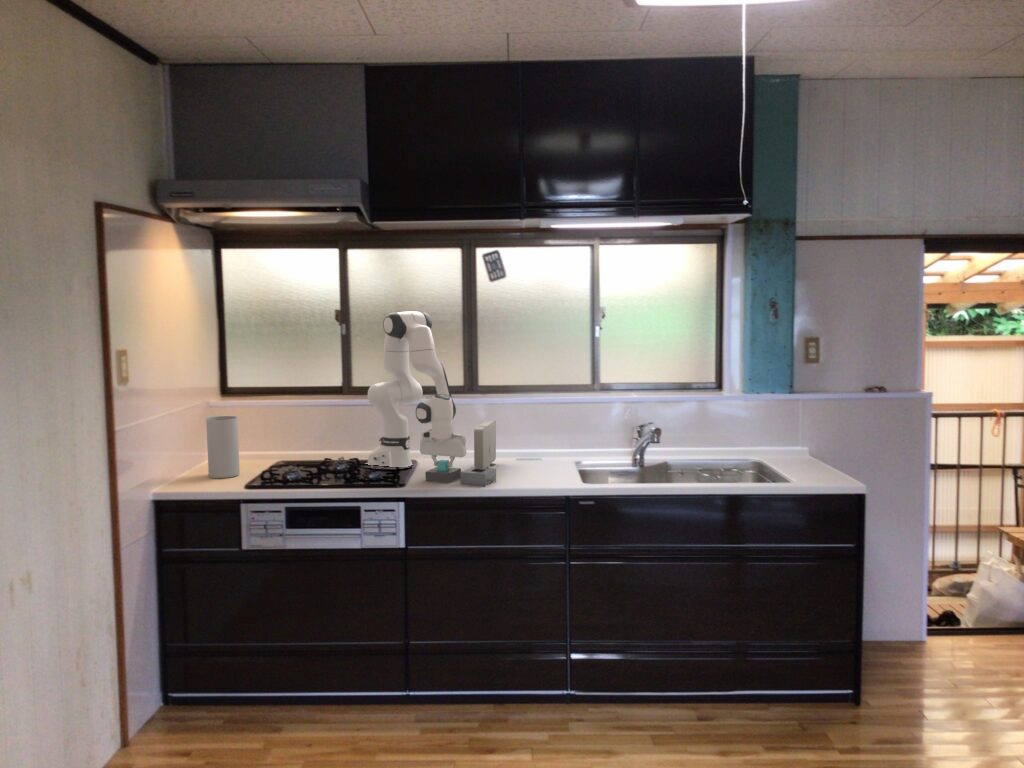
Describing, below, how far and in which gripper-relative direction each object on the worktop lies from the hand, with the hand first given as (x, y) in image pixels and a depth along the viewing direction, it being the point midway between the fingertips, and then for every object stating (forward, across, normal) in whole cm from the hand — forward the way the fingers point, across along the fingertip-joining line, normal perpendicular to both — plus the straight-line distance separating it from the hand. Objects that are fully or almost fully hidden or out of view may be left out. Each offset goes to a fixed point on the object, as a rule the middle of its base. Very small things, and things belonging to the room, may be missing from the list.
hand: (443, 466), depth 320 cm
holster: (+6, 0, 0) cm, 6 cm away
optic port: (+6, -16, 0) cm, 17 cm away
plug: (+6, 0, 0) cm, 6 cm away
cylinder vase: (+6, +92, +27) cm, 96 cm away
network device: (+6, -8, -26) cm, 28 cm away
